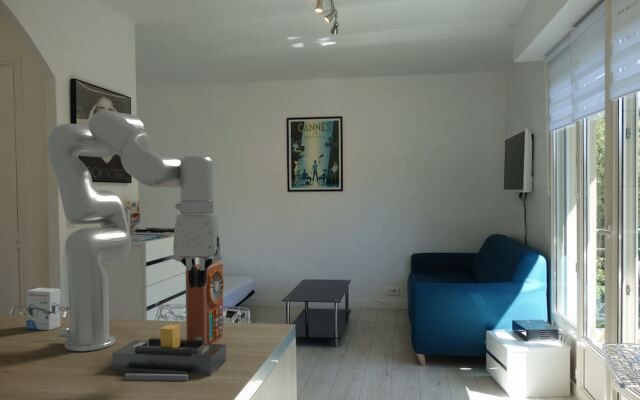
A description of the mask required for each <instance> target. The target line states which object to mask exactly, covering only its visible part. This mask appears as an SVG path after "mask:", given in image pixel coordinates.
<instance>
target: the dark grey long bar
mask: <svg viewBox="0 0 640 400" xmlns="http://www.w3.org/2000/svg"><path fill="white" fill-rule="evenodd" d="M117 372H118V373H117V374H118V375H122V376H125V374H126V373H134V374H187V371H176V370H158V369H140V368H122V367H121V368H120V369H118V370H117Z"/></svg>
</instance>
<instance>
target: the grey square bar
mask: <svg viewBox="0 0 640 400" xmlns="http://www.w3.org/2000/svg"><path fill="white" fill-rule="evenodd" d="M124 380H127V381H128V380H129V381H130V380H131V381H132V380H133V381H134V380H135V381H137V380H138V381H139V380H140V381H141V380H142V381H182V382H183V381H188V380H189V374H134V373H126V374H125V375H124Z"/></svg>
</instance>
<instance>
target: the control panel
mask: <svg viewBox="0 0 640 400" xmlns="http://www.w3.org/2000/svg"><path fill="white" fill-rule="evenodd" d="M223 267H224V263H223V261H217V262H214V263H212V264H211V265H210V266H209V268H208V269H207V282H206V283H205V286H203V287H201V288H198V287H197V286H195V287H190V283H189V270H187V269H186V268H185V307H186V311H185V313H186V314H185V315H186V316H185V317H186V320H185V321H186V339H190V340H205V344H215V343H216V342H217V341H219V340H220V339H222V337H224V286H225V285H224V276H223V275H224V272H223V271H224V268H223ZM199 268H200V263H196V269H198V271H199Z"/></svg>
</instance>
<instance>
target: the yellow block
mask: <svg viewBox="0 0 640 400" xmlns="http://www.w3.org/2000/svg"><path fill="white" fill-rule="evenodd" d="M160 338H161V347H179V346H180V339H181V325H180V324H166V325H165V326H163V327H161V328H160Z"/></svg>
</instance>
